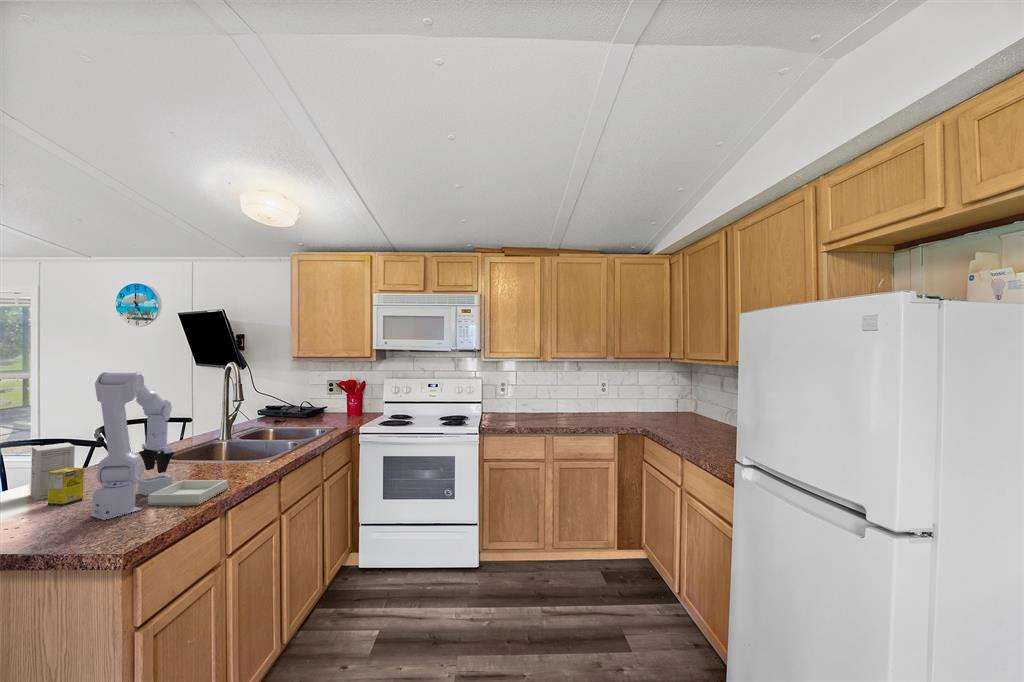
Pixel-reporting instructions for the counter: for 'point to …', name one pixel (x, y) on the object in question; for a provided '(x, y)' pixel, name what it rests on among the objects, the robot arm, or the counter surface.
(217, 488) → the pale green tray
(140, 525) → the counter surface
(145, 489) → the small crate
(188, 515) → the counter surface
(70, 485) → the supplement box
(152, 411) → the robot arm
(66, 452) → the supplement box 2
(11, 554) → the counter surface
